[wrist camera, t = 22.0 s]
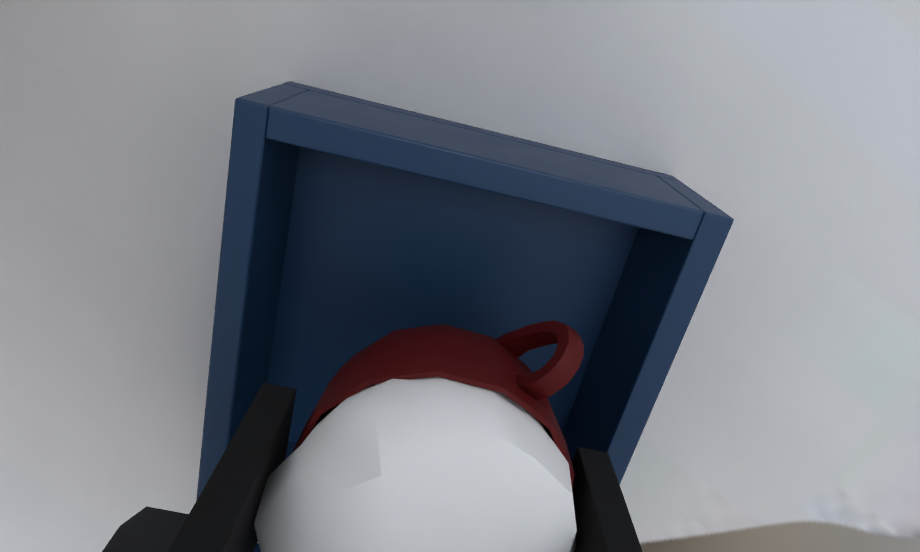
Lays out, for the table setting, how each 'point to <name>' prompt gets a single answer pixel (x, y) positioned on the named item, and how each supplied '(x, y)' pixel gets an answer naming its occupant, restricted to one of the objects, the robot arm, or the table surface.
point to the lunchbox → (444, 258)
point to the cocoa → (432, 450)
